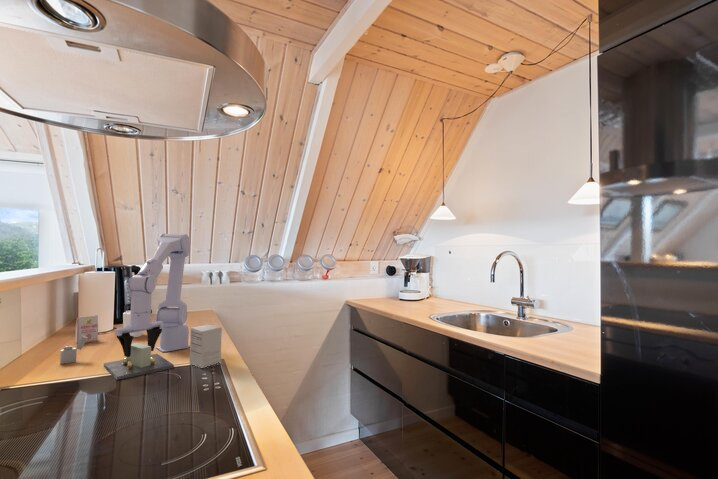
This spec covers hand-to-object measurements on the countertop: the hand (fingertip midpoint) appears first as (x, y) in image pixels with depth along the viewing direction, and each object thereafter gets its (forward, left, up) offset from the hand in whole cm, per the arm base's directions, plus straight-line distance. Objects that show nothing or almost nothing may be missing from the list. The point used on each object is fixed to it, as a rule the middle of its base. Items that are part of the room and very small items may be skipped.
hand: (139, 353), depth 120 cm
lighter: (+14, -20, -5) cm, 25 cm away
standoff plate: (0, 0, -4) cm, 4 cm away
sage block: (0, 0, -3) cm, 4 cm away
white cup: (-10, -44, -5) cm, 45 cm away
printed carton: (+6, -46, -5) cm, 47 cm away
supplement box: (-17, +11, -5) cm, 21 cm away
